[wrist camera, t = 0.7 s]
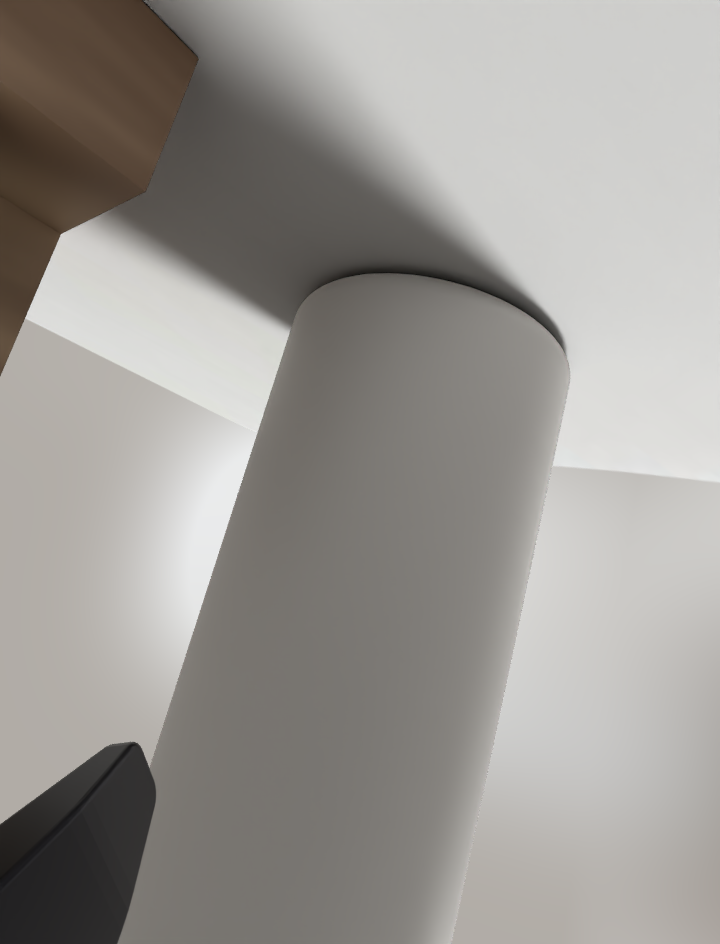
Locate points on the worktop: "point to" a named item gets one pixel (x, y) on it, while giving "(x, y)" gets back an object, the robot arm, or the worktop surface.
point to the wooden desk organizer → (76, 125)
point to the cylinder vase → (357, 627)
